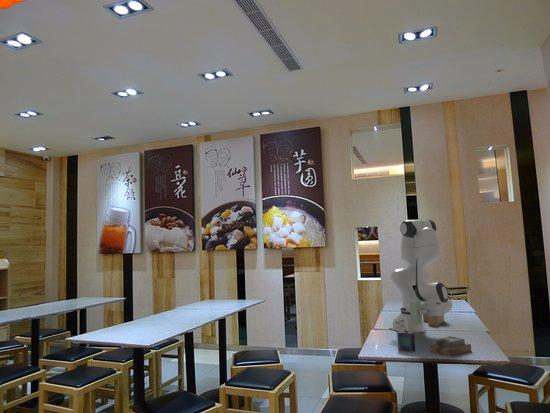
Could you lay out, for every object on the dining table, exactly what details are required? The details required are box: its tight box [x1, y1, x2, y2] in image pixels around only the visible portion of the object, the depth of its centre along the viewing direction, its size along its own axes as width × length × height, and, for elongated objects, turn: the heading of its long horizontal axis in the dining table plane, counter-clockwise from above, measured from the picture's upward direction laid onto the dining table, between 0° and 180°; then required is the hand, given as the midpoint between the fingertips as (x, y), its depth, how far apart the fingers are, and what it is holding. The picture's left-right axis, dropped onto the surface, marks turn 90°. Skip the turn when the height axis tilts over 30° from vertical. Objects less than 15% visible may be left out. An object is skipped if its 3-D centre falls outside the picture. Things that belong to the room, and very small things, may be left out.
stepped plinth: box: [430, 336, 472, 358], centre depth 205 cm, size 12×16×6 cm
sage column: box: [410, 300, 423, 325], centre depth 220 cm, size 4×4×12 cm
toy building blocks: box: [422, 314, 445, 327], centre depth 281 cm, size 12×19×25 cm, turn 146°
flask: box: [396, 329, 416, 353], centre depth 211 cm, size 9×3×11 cm, turn 48°
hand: (414, 311), depth 220 cm, fingers closed on sage column, 4 cm apart
